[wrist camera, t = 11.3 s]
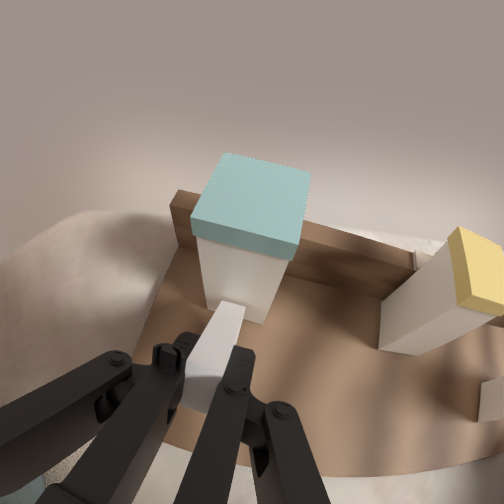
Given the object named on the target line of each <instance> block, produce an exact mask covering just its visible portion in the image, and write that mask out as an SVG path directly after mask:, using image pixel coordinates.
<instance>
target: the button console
mask: <svg viewBox="0 0 504 504" xmlns="http://www.w3.org/2000/svg"><path fill="white" fill-rule="evenodd" d="M200 196H201V195H200V194H196V193H192V192H187V191H183V190H178V191H177V193H176V195H175V197H174V198H173V200H172V201H171V203H170V210H171V214H172V219H173V223H174V228H175V232H176V236H177V241H178V245H179V247H178V249H177V251H176V253H175V256H174V258H173V260H172V262H171V264H170V267H169V269H168V271H167V273H166V275H165V278H164V280H163V282H162V285H161V287H160V289H159V292H158V294H157V296H156V299H155V301H154V303H153V306H152V308H151V311H150V313H149V316H148V318H147V321H146V323H145V326H144V328H143V331H142V333H141V336H140V338H139V341H138V344H137V346H136V349H135V351H134V354H133V357H132V363H135V364H141V365H150V364H151V363H152V354H153V347H154V346H155V345H157V344H160V343H169V344H173V342H174V341H175V340H176V338H177V337H178V336H179V334H181V333H183V332H186V331H188V332H191V333H194V334H197V335H200V336H201V335H202V333H203V331H204V330H205V328H206V326H207V325H208V323H209V321H210V320H211V318H212V316H213V314H214V313H215V311H212V310H209V309H207V303H206V297H205V291H204V285H203V279H202V273H201V266H200V260H199V253H198V246H197V239H196V236H194V235H193V234H192V227H191V220H190V216H191V214H192V212H193V210H194V208H195V206H196V204H197V202H198V200H199V198H200ZM431 257H432V256H430V255H427V254H424V253H422V252H419V251H415V252H414V253H412V252H409V251H405V250H402V249H399V248H396V247H393V246H390V245H387V244H384V243H380V242H377V241H374V240H371V239H367V238H364V237H361V236H358V235H354V234H351V233H347V232H344V231H341V230H337V229H334V228H330V227H327V226H323V225H320V224H316V223H312V222H309V221H305V220H303V224H302V229H301V235H300V240H299V245H298V248H297V250H296V252H295V255H294V257H293V260H292V261H289V262H288V265H287V267H286V270H285V272H284V275H283V277H282V280H281V282H280V285H279V287H278V289H277V292H276V294H275V297H274V299H273V302H272V304H271V306H270V309H269V311H268V314H267V316H266V318H265V321H264V323H263V324H259V323H255V322H251V321H248V320H244V319H243V320H242V324H241V328H240V332H239V336H238V339H237V343H236V345H237V346H241V347H244V348H248V349H252V350H253V351H254V353H255V355H256V359H255V364H254V369H253V375H252V380H251V385H250V390H251V393H252V394H253V396H254V397H255V398H257V399H258V400H260V401H261V402H263V403H266V404H268V403H270V402H272V401H283V402H286V403H289V404H291V405H292V406H293V407H294V408H295V409H296V411H297V412H298V415H299V418H300V420H301V423H302V426H303V429H304V432H305V434H306V437H307V440H308V443H309V446H310V448H311V451H312V454H313V457H314V459H315V462H316V465H317V468H318V470H319V473H320V476H325V477H378V476H392V475H403V474H411V473H419V472H425V471H431V470H437V469H442V468H447V467H452V466H456V465H460V464H464V463H468V462H472V461H475V460H479V459H482V458H485V457H488V456H491V455H494V454H497V453H500V452H503V451H504V418H503V419H498V420H493V421H488V422H481V423H478V416H479V407H480V396H481V383H483V382H487V381H490V380H493V379H496V378H499V377H501V376H504V315H502V316H501V317H500V316H497V317H495V318H493V319H492V320H490V321H488V322H486V323H485V324H483V325H481V326H479V327H477V328H476V329H474V330H472V331H470V332H468V333H466V334H464V335H462V336H460V337H458V338H456V339H454V340H452V341H450V342H448V343H446V344H444V345H442V346H439V347H437V348H435V349H433V350H431V351H428V352H426V353H424V354H421V355H419V356H415V355H409V354H402V353H396V352H389V351H384V350H378V345H379V333H380V319H381V302H382V301H384V300H385V299H386V298H387V297H388V296H389V295H391V294H392V293H393V292H394V291H395V290H396V289H398V288H399V287H400V286H401V285H402V284H403V283H404V282H406V281H407V280H408V279H409V278H410V277H411V276H412V275H413V274H414V273H415V272H417V271H418V270H419V269H420V268H421V267H422V266H423V265H424V264H425V263H426V262H427V261H428V260H429V259H430V258H431ZM180 402H181V400H180ZM180 402H179V404H178V406H177V413H176V415H175V417H174V419H173V421H172V424H171V426H170V428H169V430H168V432H167V434H166V436H165V438H164V440H163V442H164V443H167V444H170V445H173V446H175V447H178V448H181V449H184V450H187V451H190V452H193V451H194V448H195V445H196V443H197V440H198V437H199V435H200V432H201V429H202V427H203V424H204V421H205V419H206V416H207V414H204V413H201V412H198V411H195V410H191V409H188V408H185V407H183V406H180ZM236 464H238V465H243V466H247V467H252V466H251V460H250V454H249V446H248V445H246V444H244V443H242V442H240V446H239V451H238V456H237V461H236Z"/></svg>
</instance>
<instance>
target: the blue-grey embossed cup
mask: <svg viewBox="0 0 504 504" xmlns="http://www.w3.org/2000/svg"><path fill="white" fill-rule="evenodd" d="M44 490H45V482H44V477H43V474H42V475H40V476H39V477H37V478H36V479H34V480H33V481H31V482H30V483H28V484H27V485H25V486H24V487H22V488H21V489H19V490H17V491H15V492H13V493H12V494H9V495H6V496H3V497H0V504H35V502H36V501H37V500H38V498H39V497H40V496H41V494H42V493H43V492H44Z"/></svg>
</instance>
